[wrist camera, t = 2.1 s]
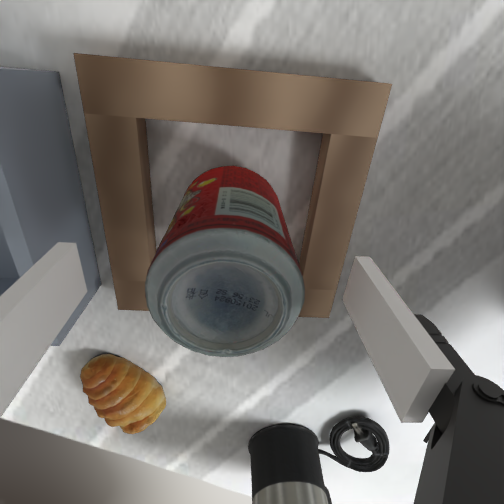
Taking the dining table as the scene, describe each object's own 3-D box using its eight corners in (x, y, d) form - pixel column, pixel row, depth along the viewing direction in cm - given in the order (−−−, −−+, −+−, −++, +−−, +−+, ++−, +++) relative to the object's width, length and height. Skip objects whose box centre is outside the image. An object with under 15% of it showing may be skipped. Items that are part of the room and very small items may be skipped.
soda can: (187, 151, 21) (136, 224, 10) (286, 167, 22) (331, 250, 11) (182, 240, 24) (139, 363, 14) (267, 251, 25) (289, 375, 15)
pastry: (70, 363, 31) (50, 396, 28) (122, 340, 30) (108, 372, 27) (128, 411, 36) (116, 445, 32) (176, 392, 34) (169, 425, 31)
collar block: (378, 83, 19) (392, 83, 18) (323, 303, 28) (328, 317, 26) (89, 55, 18) (73, 53, 16) (126, 294, 27) (118, 309, 25)
